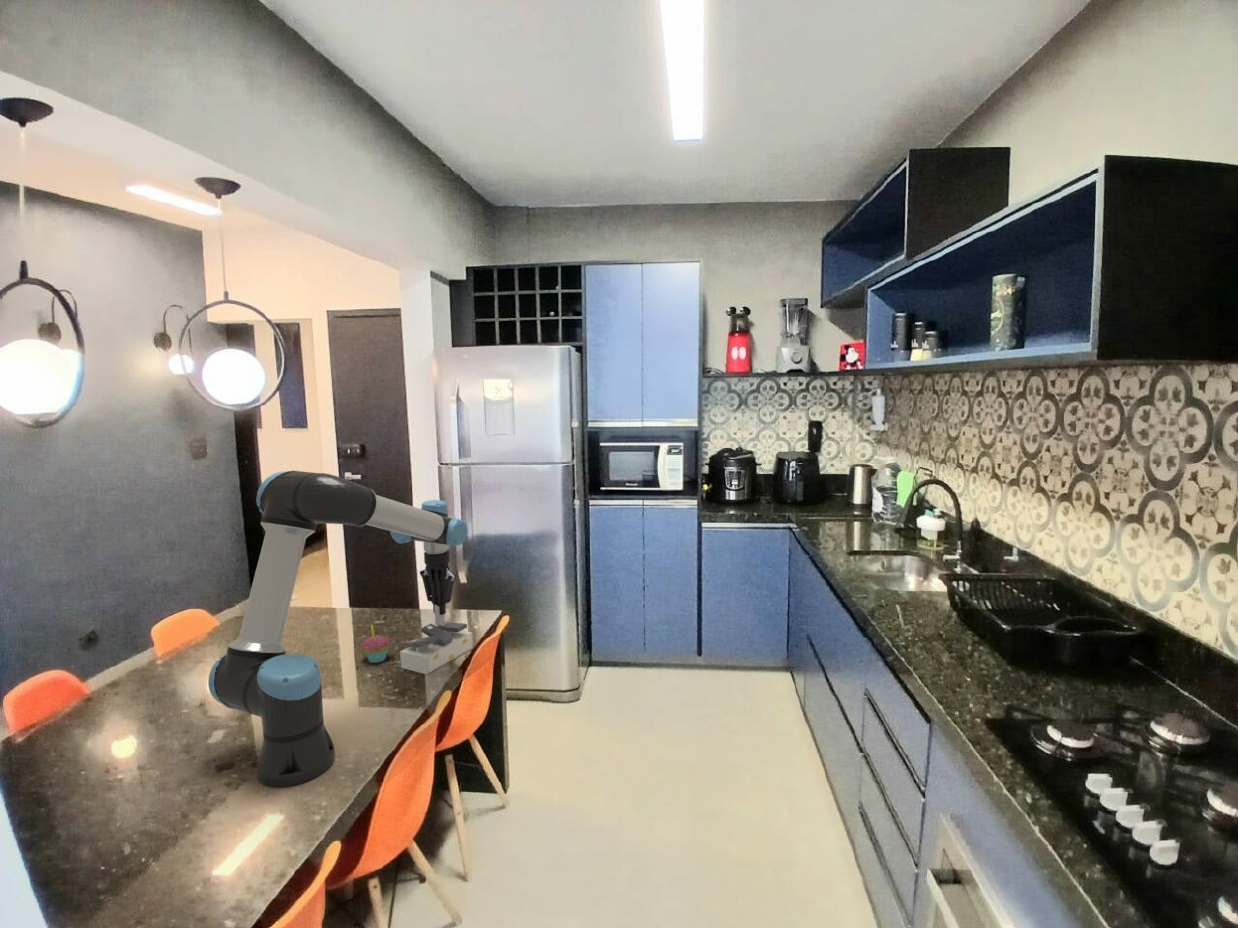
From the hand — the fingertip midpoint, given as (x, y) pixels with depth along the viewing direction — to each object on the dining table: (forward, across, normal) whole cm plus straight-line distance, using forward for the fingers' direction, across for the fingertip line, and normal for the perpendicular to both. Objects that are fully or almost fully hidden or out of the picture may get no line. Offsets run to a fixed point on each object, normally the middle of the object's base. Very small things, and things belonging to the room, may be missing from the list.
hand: (440, 623), depth 197 cm
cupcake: (+8, +11, +15) cm, 21 cm away
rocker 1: (0, -5, +12) cm, 13 cm away
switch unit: (+8, -5, +6) cm, 11 cm away
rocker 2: (0, -5, +6) cm, 8 cm away
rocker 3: (0, -5, 0) cm, 5 cm away
